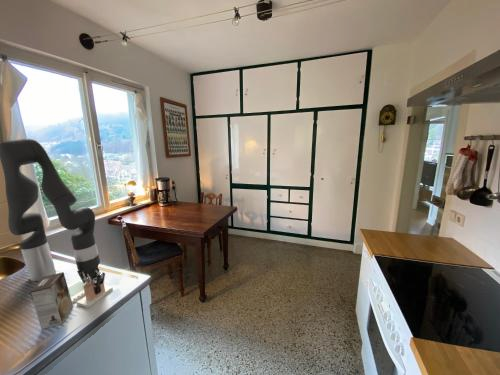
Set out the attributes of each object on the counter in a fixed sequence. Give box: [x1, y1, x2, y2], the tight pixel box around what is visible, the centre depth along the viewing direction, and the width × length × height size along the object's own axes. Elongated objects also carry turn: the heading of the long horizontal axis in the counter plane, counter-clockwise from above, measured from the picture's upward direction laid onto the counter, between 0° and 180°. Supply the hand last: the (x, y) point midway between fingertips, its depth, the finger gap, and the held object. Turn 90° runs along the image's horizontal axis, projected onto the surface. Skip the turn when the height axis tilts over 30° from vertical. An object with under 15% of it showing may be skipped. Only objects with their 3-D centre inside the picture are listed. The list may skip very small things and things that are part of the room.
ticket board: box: [67, 278, 86, 304], centre depth 93 cm, size 12×11×1 cm
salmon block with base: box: [76, 281, 114, 309], centre depth 89 cm, size 6×11×7 cm, turn 161°
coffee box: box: [29, 272, 74, 330], centre depth 78 cm, size 9×6×16 cm
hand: (95, 291), depth 89 cm, fingers closed on salmon block with base, 3 cm apart
